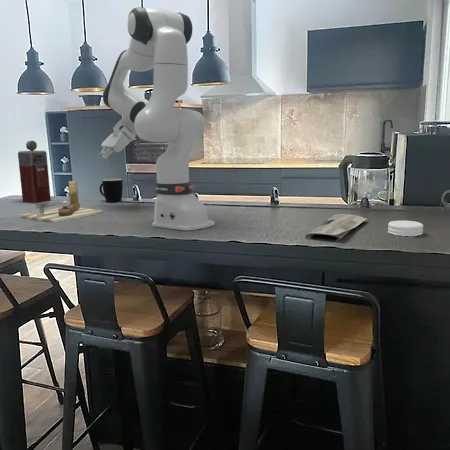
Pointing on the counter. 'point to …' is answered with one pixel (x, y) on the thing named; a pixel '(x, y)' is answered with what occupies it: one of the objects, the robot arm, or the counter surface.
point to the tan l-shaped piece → (71, 200)
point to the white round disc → (405, 228)
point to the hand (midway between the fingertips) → (101, 157)
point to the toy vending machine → (34, 174)
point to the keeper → (41, 206)
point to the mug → (112, 189)
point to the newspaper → (337, 225)
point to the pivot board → (55, 217)
